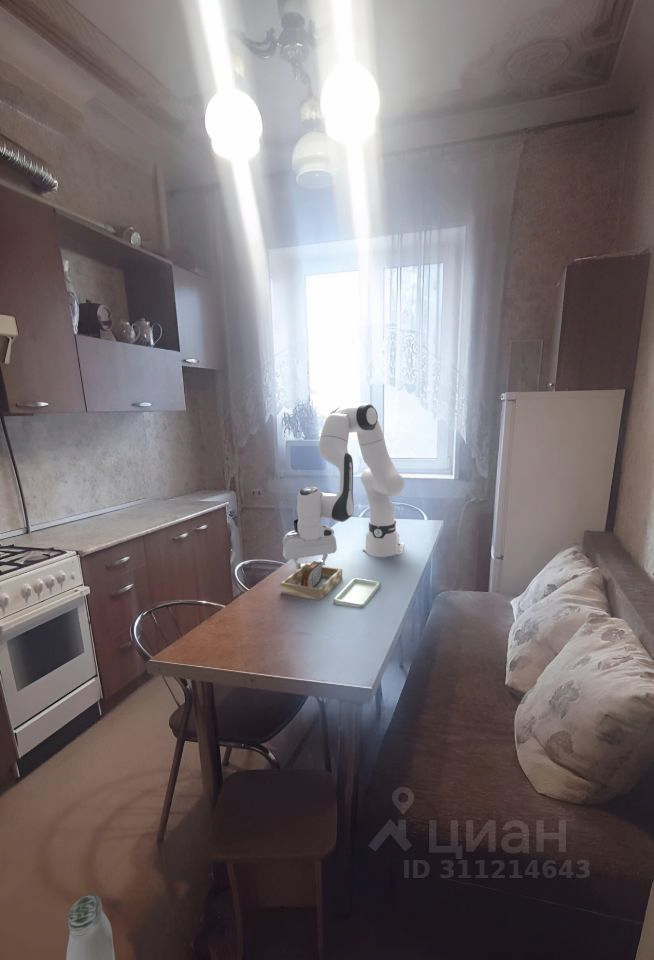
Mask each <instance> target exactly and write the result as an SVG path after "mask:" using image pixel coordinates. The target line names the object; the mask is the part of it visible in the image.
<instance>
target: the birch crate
mask: <svg viewBox="0 0 654 960" xmlns="http://www.w3.org/2000/svg"><path fill="white" fill-rule="evenodd" d="M304 564H305V563H304ZM310 564H311V563H307V564H305V565H303V566H302V567H301V569H296V571H294V572H293V573H292V574H290V575H289V576H287V578H285V579H284V580H282V581H281V582H280V584H279V585H280V594H281V595H282V594H283V595H288V596H293V597H299V598H305V599H313V600H319V601H321V600H322V599H324V597H325V596H326V595H328V594H329V593H330V592H331V590H333V589H334V588H335V587H336V586H337V585H338V584H339V583H340V582H341V580H342V579H343V569H342V568H339V567H338V568H336V567H331V566H325V565H323V566H322V576H321V578H328V579H327V580H326V581H325V582H324V583H323V584H321V585H320V586H319V587H315V586H314V587H308V586H302V585H301V584H297V583H299V582H300V581H301V578H302V574H303V572H304V570H305V568H307V567H308V566H309V565H310Z"/></svg>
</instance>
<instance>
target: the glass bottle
mask: <svg viewBox="0 0 654 960" xmlns="http://www.w3.org/2000/svg"><path fill="white" fill-rule="evenodd" d="M67 914H68V919H67V924H68V929H69V936H68V942H67V949H66V955H65V956H66V957H65V960H116V956H115V950H114V949H115V948H114V939H113V930H112V926H111V925H112V924H111V922H110V921H109V919H108V917H107V915H106V914H105V912H104V911H103V904H102V899H101V897H99V896H98V895H97V894H91V893H90V894H89V893H88V894H86V895H83V896H82V897H81V898H79V899H77V901H75V903H73V905H72V906H71V908H70V909H69V911H68V912H67Z"/></svg>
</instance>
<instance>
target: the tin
mask: <svg viewBox="0 0 654 960" xmlns="http://www.w3.org/2000/svg"><path fill="white" fill-rule="evenodd" d="M309 564H310V565H309V566H308V567H307V568H305V570H304V572H303V574H302V578H301V580H300V585H302V586H308V587H314V588H315V587H316V585H317V584H319V582H321V579H322V577H321V576H322V566H321V565H320V561H316V560H314V561H312V562H311V563H309Z"/></svg>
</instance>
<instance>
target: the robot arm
mask: <svg viewBox="0 0 654 960" xmlns="http://www.w3.org/2000/svg"><path fill="white" fill-rule="evenodd" d="M378 417H379V415H378V411H377V410H376V408H375V406H373V405H372V404H369V403H362V404H358V403H357V404H350V405H347V406H342V407H337V408H335V409H333V410H332V411H331V412H330V413H329V415H328V416H327V417H326V419H325V421H324V424H323V426H322V430H321V433H320V437H319V442H318V452H319V454H320V456H321V457H322V458H323V460H324V461H326V463H328V464H331V465H333V466H335V467H336V468H337V469H338V471H339V492H338V493H330V492H329V493H328V492H322V491H320V489H319V488H318V487H316V486H307V487H302V488H300V490H299V491H298V494H297V501H296V502H297V503H296V513H297V516H298V518H297V519H298V533H295V532H294V533H287V534H286V535H284V536H283V537H282V545H283V549H282V556H283V558H285V560H292V562H294V564H295V569H296V570H298V569H301V564H302V563H300V562H298V561H299V560H298V559H299V558H300V559H301V558H302V559H303V558H305V557H308V558H309V557H315V556H322V558H321V559H319V562H320V565H321V566H326V563H325V561H326V560H327V558H328V555H329V554H335V553H336V552H337V540H336V537H335V531H334V529H333V528H332V527H330V526H328V525H324V524H322V519H327V520H334V521H337V522H341V523H344V522H345V521H347V520H349V519H350V518H351V517H353V514H354V512H355V511H354V508H355V507H354V492H353V491H354V490H353V489H354V461H353V457H352V455H351V454H350V453H349V451H348V444H349V437H350V433H356V436H357V440H358V444H359V448H360V453H361V455H362V456H361V457H362V459H363V461H364V463H365V464H366V465H367V468H365V469H364V470H362V472H361V476H360V481H361V484H362V486H363V487H364V489H365V492H366V497H367V500H368V506H369V522H368V532H367V533H366V534H365V546H364V547H363V548H362V551H363V552H365V553H366V554H367V555H369V556H371V557H374V558H375V557H376V558H388V556H389V557H393V556H398V555H403V553H404V548H405V543H404V542H402V541H400V533H399V532H397V529H396V524H397V521H396V520H395V505H394V503H393V501H392V500H391V496H392V497H395V496H399V495H400V494H401V493H402V492H403V490H404V488H405V479H404V478H403V476H402V475H401V474H400V473H399V472H398V470H397V469H396V466H395V465H394V464H393V462H392V460H391V457H390V455H389V452H388V449H387V445H386V442H385V437H384V433H383V430H382V427H381V425H380V422H379V420H378V419H379V418H378ZM321 518H322V519H321Z"/></svg>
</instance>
